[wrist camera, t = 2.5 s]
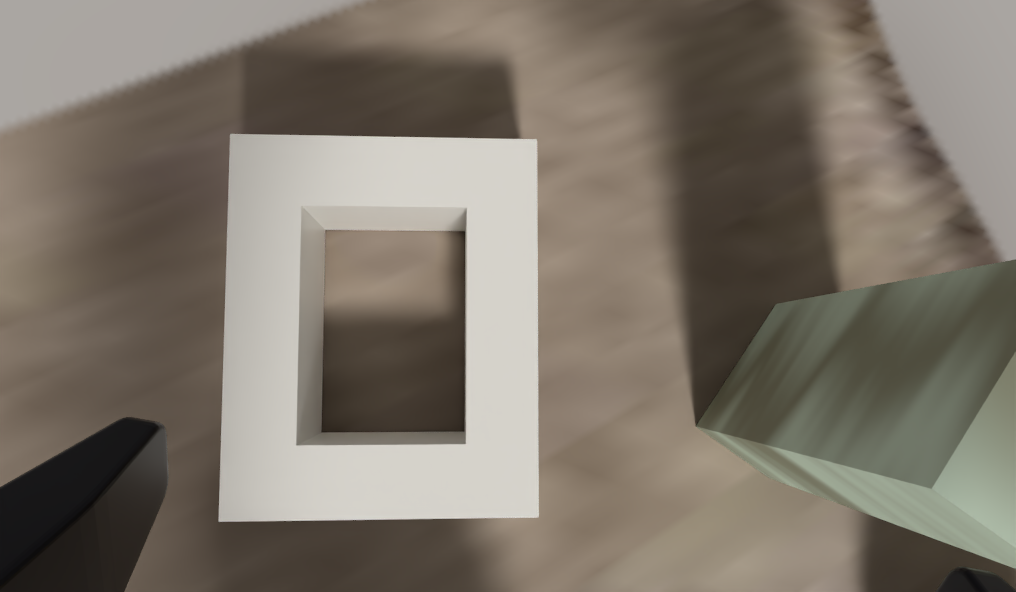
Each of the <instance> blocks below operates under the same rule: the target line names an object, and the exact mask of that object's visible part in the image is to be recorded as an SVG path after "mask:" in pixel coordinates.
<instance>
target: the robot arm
mask: <svg viewBox="0 0 1016 592" xmlns="http://www.w3.org/2000/svg"><path fill="white" fill-rule="evenodd" d="M167 485H168V457H167V435H166V430H165V427H164V426H163V425H162V424H161V423H159V422H155V421H150V420H144V419H139V418H133V417H126V418H122V419H120V420H118V421H116V422H114V423H112V424H110V425H109V426H107V427H105V428H103V429H102V430H100V431H98V432H96V433H95V434H93V435H91V436H89V437H88V438H86V439H84V440H82V441H81V442H79V443H77V444H75V445H73V446H72V447H70V448H68V449H66V450H65V451H63V452H61V453H59V454H58V455H56V456H54V457H52V458H51V459H49V460H47V461H45V462H44V463H42V464H40V465H38V466H36V467H35V468H33V469H31V470H29V471H28V472H26V473H24V474H22V475H21V476H19V477H17V478H15V479H14V480H12V481H10V482H8V483H7V484H5V485H3V486H1V487H0V592H124V591H125V589H126V586H127V584H128V582H129V579H130V577H131V575H132V572H133V570H134V568H135V565H136V563H137V561H138V558H139V556H140V553H141V551H142V549H143V546H144V544H145V542H146V539H147V537H148V535H149V532H150V530H151V528H152V525H153V523H154V521H155V518H156V516H157V514H158V511H159V509H160V506H161V504H162V502H163V499H164V497H165V493H166V490H167ZM935 592H1016V590H1015V589H1013V588H1012V587H1011V586H1010V585H1009V584H1008V583H1007V582H1005V581H1004V580H1003V579H1002V578H1001V577H999V576H998V575H996V574H994V573H992V572H989V571H984V570H978V569H973V568H967V567H957V568H955V569H953V570H951V571H950V572H949V573H948V575H947V576H946V577H945V579H944V580H943V582H942V583H941V584H940V586H939V587H938V589H937V590H936V591H935Z"/></svg>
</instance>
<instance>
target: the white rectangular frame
mask: <svg viewBox="0 0 1016 592" xmlns="http://www.w3.org/2000/svg"><path fill="white" fill-rule="evenodd" d="M325 230H397V231H465V431H464V432H322V381H323V329H324V277H325ZM532 517H539V485H538V245H537V139H489V138H433V137H376V136H320V135H264V134H230V156H229V190H228V223H227V257H226V290H225V323H224V357H223V390H222V424H221V457H220V491H219V522H244V521H316V520H388V519H460V518H532Z"/></svg>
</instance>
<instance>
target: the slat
mask: <svg viewBox="0 0 1016 592" xmlns="http://www.w3.org/2000/svg"><path fill="white" fill-rule="evenodd" d="M696 427H697V428H699V429H700V430H702V431H703V432H705V433H706V434H707V435H709V436H710V437H712V438H713V439H715V440H716V441H717V442H719V443H720V444H722V445H723V446H724V447H726V448H727V449H729V450H730V451H732V452H733V453H734V454H736V455H737V456H739V457H740V458H742V459H743V460H744V461H746V462H747V463H749V464H750V465H751V466H753V467H754V468H756V469H757V470H759V471H760V472H761V473H763V474H764V475H766V476H767V477H769V478H771V479H773V480H776V481H779V482H781V483H784V484H787V485H790V486H792V487H795V488H798V489H800V490H803V491H806V492H809V493H811V494H814V495H817V496H819V497H822V498H825V499H828V500H830V501H833V502H836V503H838V504H841V505H844V506H847V507H849V508H852V509H855V510H857V511H860V512H863V513H866V514H868V515H871V516H874V517H876V518H879V519H882V520H885V521H887V522H890V523H893V524H895V525H898V526H901V527H904V528H906V529H909V530H912V531H914V532H917V533H920V534H923V535H925V536H928V537H931V538H933V539H936V540H939V541H942V542H944V543H947V544H950V545H952V546H955V547H958V548H961V549H963V550H966V551H969V552H971V553H974V554H977V555H980V556H982V557H985V558H988V559H990V560H993V561H996V562H999V563H1001V564H1004V565H1007V566H1009V567H1012V568H1015V569H1016V260H1011V261H1006V262H1000V263H995V264H989V265H984V266H979V267H973V268H968V269H962V270H957V271H951V272H946V273H941V274H935V275H930V276H924V277H919V278H914V279H908V280H903V281H897V282H892V283H887V284H881V285H876V286H870V287H865V288H860V289H854V290H849V291H843V292H838V293H833V294H827V295H822V296H816V297H811V298H805V299H800V300H795V301H789V302H784V303H778V304H776V305H775V306H774V308H773V309H772V311H771V313H770V314H769V316H768V317H767V319H766V320H765V322H764V323H763V325H762V326H761V328H760V329H759V331H758V332H757V334H756V335H755V337H754V338H753V340H752V341H751V343H750V344H749V346H748V348H747V349H746V351H745V352H744V354H743V355H742V357H741V358H740V360H739V361H738V363H737V364H736V366H735V367H734V369H733V370H732V372H731V373H730V375H729V376H728V378H727V380H726V381H725V383H724V384H723V386H722V387H721V389H720V390H719V392H718V393H717V395H716V396H715V398H714V399H713V401H712V402H711V404H710V405H709V407H708V408H707V410H706V412H705V413H704V415H703V416H702V418H701V419H700V421H699V422H698V424H697V425H696Z"/></svg>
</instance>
